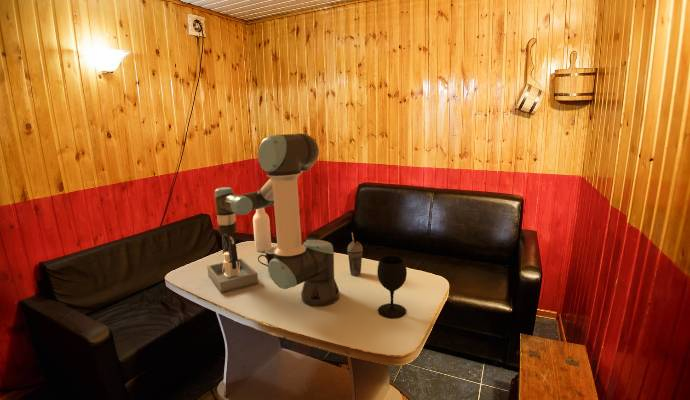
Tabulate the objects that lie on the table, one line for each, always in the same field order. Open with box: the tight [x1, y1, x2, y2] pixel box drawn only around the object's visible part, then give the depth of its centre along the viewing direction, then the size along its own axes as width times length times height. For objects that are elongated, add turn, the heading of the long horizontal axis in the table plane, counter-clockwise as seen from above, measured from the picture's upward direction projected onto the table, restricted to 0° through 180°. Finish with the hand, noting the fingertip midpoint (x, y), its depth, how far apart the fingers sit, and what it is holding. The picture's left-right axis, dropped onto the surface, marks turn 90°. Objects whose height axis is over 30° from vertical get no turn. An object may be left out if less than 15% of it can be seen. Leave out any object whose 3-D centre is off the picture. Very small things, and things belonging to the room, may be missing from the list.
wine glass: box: [376, 255, 408, 319], centre depth 133 cm, size 10×10×20 cm
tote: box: [206, 257, 259, 295], centre depth 165 cm, size 22×16×5 cm
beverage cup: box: [346, 232, 364, 277], centre depth 166 cm, size 7×7×20 cm
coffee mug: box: [257, 247, 276, 267], centre depth 174 cm, size 12×9×10 cm
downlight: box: [222, 251, 240, 277], centre depth 164 cm, size 8×7×10 cm
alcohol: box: [252, 208, 272, 253], centre depth 201 cm, size 9×9×30 cm
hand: (231, 272), depth 165 cm, fingers closed on downlight, 7 cm apart
